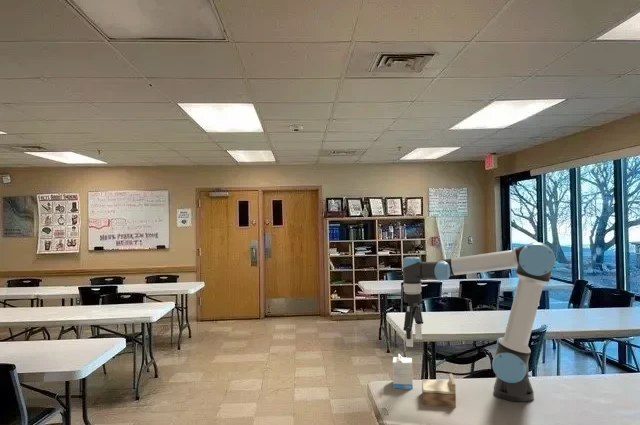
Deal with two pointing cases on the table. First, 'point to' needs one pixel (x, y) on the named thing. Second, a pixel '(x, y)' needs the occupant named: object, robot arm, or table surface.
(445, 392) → the lid
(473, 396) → the table surface
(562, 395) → the table surface
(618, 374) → the table surface
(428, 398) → the box
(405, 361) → the ink box
